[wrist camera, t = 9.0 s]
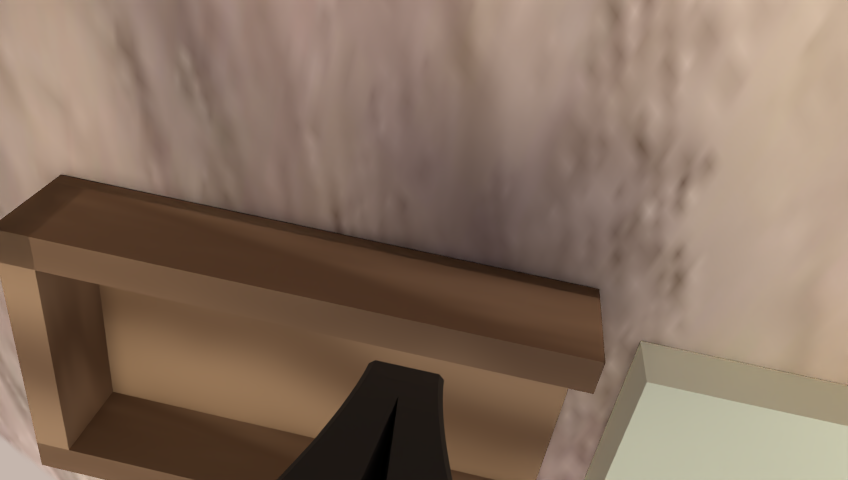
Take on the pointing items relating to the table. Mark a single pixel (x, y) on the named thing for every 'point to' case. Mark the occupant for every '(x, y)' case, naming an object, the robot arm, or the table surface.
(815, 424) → the cover slab
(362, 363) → the slide box
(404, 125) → the table surface
